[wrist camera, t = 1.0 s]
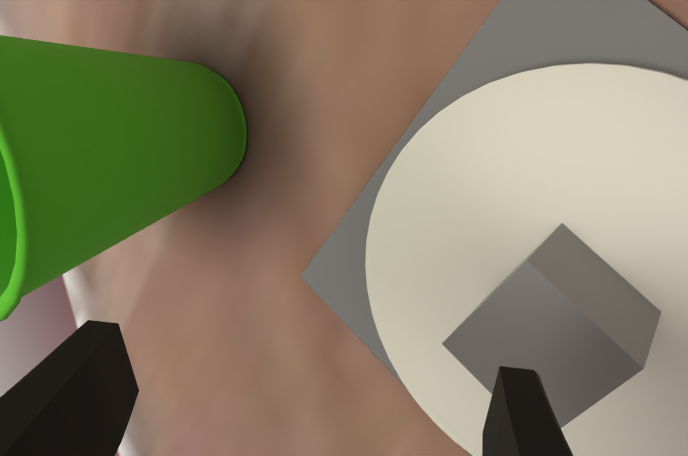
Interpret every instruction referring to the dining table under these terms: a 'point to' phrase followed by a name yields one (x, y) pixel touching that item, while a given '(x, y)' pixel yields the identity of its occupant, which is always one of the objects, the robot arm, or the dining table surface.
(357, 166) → the dining table surface
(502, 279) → the lid
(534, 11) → the mat
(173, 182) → the cup
